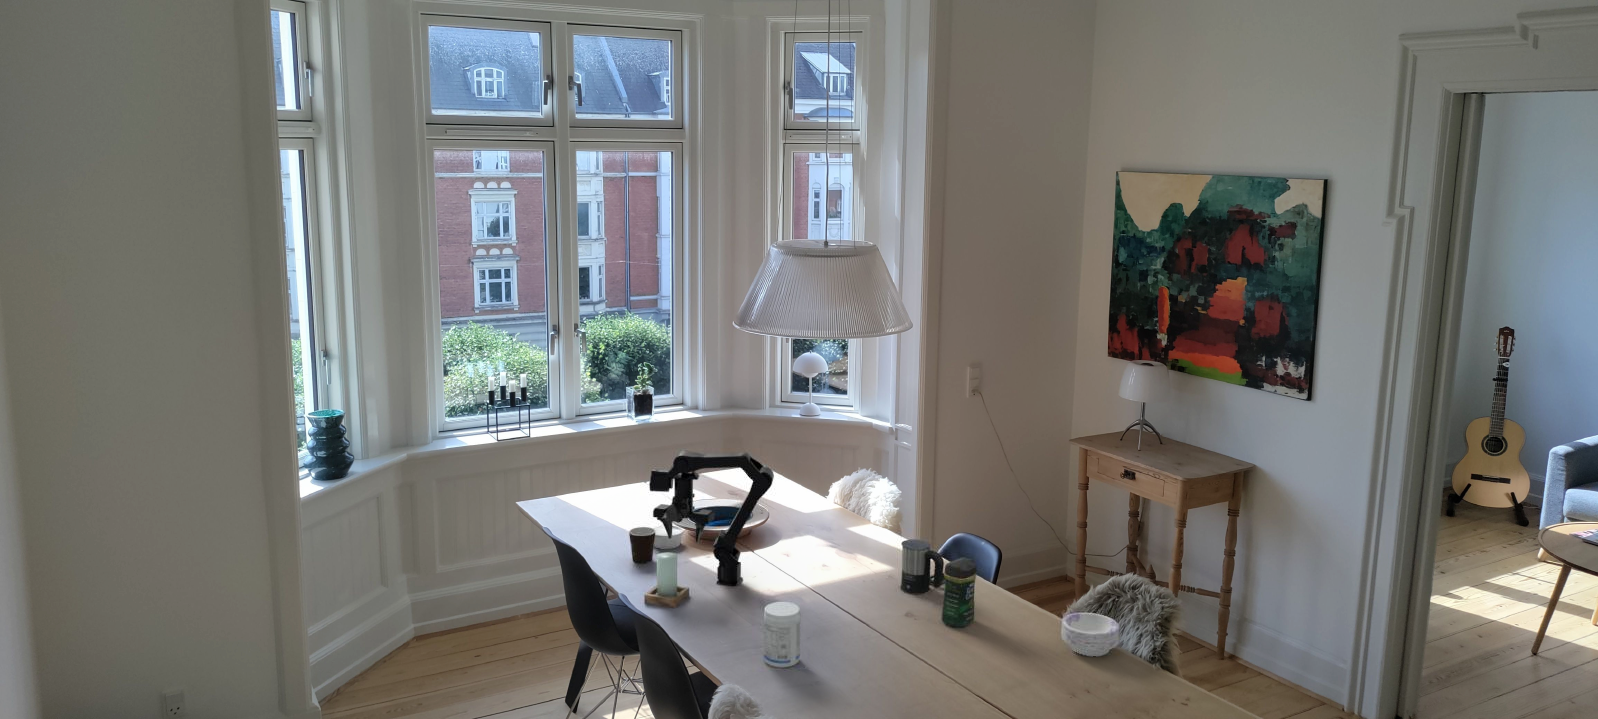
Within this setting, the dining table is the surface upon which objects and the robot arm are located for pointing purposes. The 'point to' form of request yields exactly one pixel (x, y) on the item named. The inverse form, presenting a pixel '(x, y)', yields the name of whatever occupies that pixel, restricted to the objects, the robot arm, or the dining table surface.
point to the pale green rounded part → (667, 574)
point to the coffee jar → (959, 592)
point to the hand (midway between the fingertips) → (683, 540)
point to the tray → (672, 602)
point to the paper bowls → (1090, 633)
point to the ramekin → (663, 539)
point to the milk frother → (920, 567)
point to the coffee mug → (642, 544)
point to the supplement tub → (781, 634)
